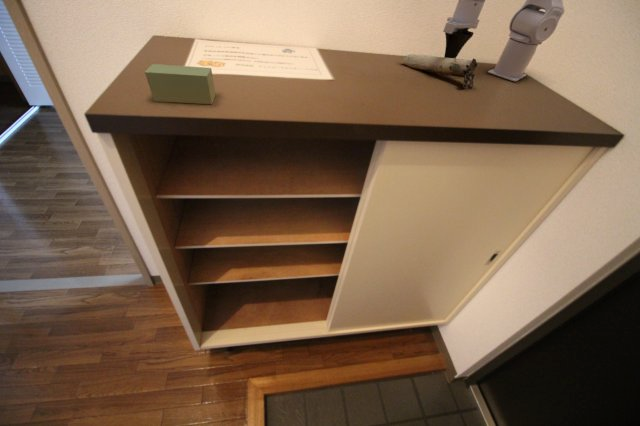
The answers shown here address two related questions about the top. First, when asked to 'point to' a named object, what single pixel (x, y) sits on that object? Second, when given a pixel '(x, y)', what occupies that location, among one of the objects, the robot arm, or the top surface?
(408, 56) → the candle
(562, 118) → the top surface
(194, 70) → the green rectangular block
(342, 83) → the top surface
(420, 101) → the top surface
